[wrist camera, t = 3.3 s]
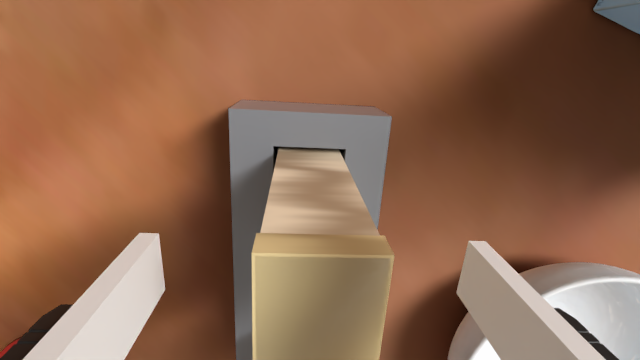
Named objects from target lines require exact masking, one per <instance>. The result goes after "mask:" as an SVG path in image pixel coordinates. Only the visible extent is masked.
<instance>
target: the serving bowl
mask: <svg viewBox="0 0 640 360" xmlns="http://www.w3.org/2000/svg"><path fill="white" fill-rule="evenodd" d="M519 275H520V276H521V277H522V278H523V279H524V280H525V281H526V282H527V283H528V284H529V285H530V286H531V287H532V288H533V289H534V290H535V291H537V292H538V293H539V294H540V295H541V296H542V297H543V298H544V299H545V300H546V301H547V302H548V303H549V304H550V305H551V306H552V307H553V308H560V309H561V310H563V311H564V312H566V313H568V314H569V315H571V316H572V317H574V318H575V319H577V320H578V321H579V322H580V323H581V324H582V325H583V326H584V327H585V328H586V329H587V330H588V331H589V333H591V334H592V335H594V336H595V337H596V338H597V339H598V340H599V342H600V344H603V345H604V346H605V347H606V348H607V349H608V350H609V351H610V352H612V353H613V354H614V355H615V356H616V357H617V358H618V359H619V360H640V275H639V274H637V273H634V272H631V271H628V270H625V269H622V268H618V267H614V266H609V265H604V264H598V263H588V262H566V263H556V264H550V265H545V266H540V267H537V268H533V269H530V270H527V271H524V272H522V273H519ZM448 360H501V359H500V358H499V356H498V355H497V353H496V352H495V350H494V349H493V347H492V346H491V344H490V343H489V341H488V340H487V338H486V337H485V335H484V334H483V332H482V331H481V329H480V328H479V326H478V325H477V323H476V322H475V320H474V319H473V317H472V316H471V314H470V313H469V312H468V313H467V314H466V316H465V317H464V319H463V320H462V322H461V323H460V325H459V327H458V329H457V331H456V333H455V335H454V337H453V340H452V343H451V346H450V350H449V354H448Z"/></svg>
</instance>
